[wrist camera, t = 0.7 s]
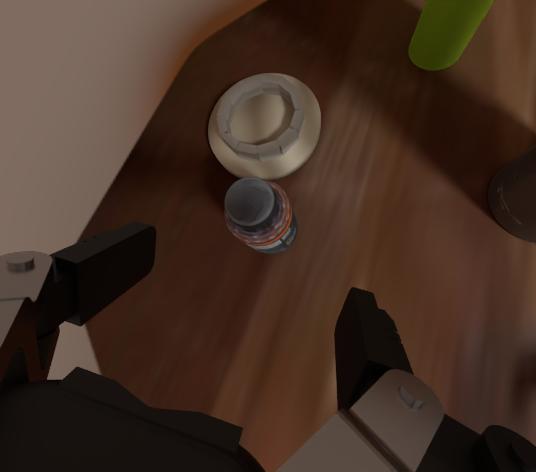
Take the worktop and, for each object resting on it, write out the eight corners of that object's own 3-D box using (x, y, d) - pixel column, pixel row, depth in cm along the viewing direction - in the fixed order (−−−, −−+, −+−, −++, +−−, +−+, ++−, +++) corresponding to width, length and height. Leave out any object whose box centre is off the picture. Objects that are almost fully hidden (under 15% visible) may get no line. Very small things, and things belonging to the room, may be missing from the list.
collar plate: (304, 67, 35) (303, 44, 31) (334, 163, 31) (336, 147, 28) (204, 101, 36) (193, 82, 33) (223, 195, 33) (212, 184, 30)
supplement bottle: (251, 204, 32) (218, 161, 21) (300, 207, 31) (291, 163, 20) (244, 253, 31) (206, 234, 20) (295, 258, 30) (283, 240, 19)
